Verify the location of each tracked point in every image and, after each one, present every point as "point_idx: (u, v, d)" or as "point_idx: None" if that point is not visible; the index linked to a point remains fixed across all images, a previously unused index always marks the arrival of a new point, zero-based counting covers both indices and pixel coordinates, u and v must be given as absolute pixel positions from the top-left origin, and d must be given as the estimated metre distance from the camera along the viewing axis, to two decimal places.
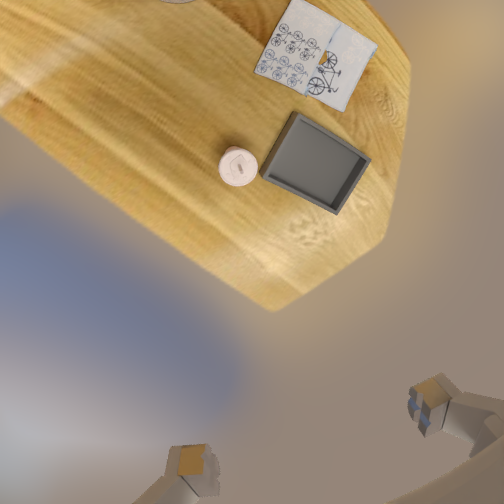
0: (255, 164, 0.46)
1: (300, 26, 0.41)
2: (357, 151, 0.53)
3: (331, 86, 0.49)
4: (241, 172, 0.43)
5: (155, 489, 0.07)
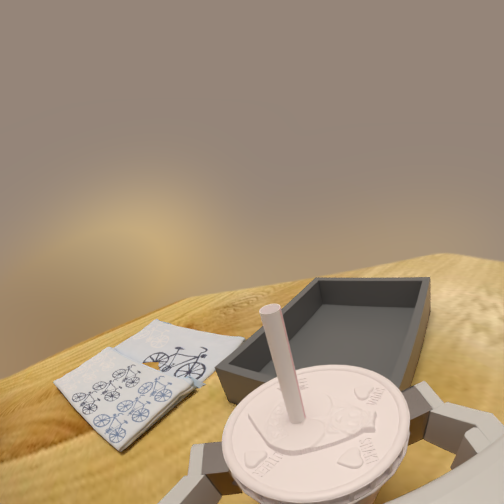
0: (301, 372, 0.11)
1: (90, 382, 0.28)
2: (303, 291, 0.32)
3: (196, 354, 0.32)
4: (273, 312, 0.07)
5: (179, 489, 0.07)
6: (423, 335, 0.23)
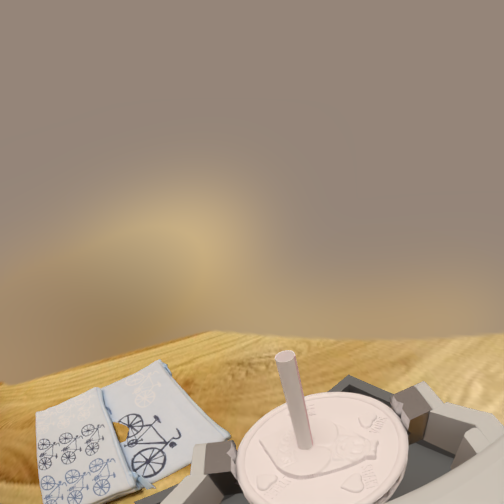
0: (310, 399, 0.11)
1: (61, 428, 0.22)
2: None
3: (167, 438, 0.22)
4: (288, 359, 0.08)
5: (182, 489, 0.07)
6: None
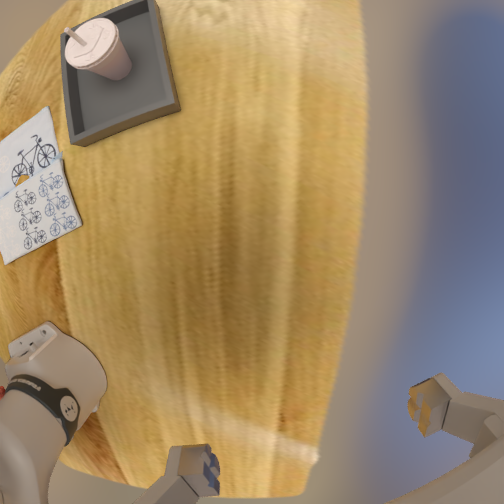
0: (70, 40, 0.20)
1: (16, 231, 0.34)
2: (62, 53, 0.26)
3: (35, 143, 0.32)
4: (67, 29, 0.17)
5: (155, 489, 0.07)
6: (163, 33, 0.29)
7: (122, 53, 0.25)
